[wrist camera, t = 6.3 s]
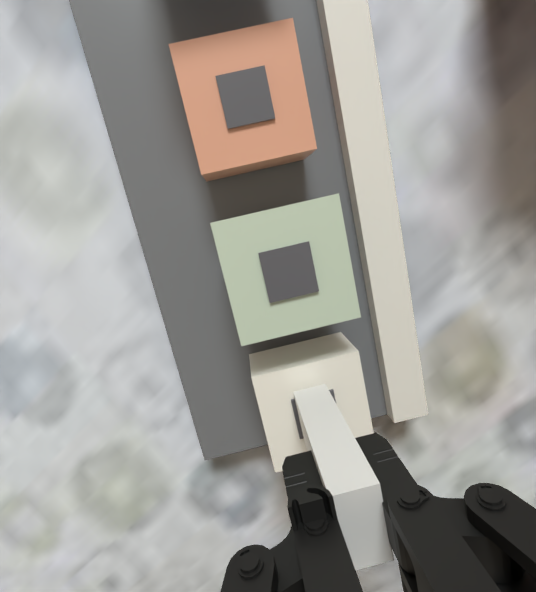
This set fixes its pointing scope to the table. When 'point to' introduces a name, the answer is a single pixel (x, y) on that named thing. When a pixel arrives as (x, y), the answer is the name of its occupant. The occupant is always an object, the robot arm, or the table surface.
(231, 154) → the key terracotta
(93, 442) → the table surface
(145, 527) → the table surface
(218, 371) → the keypad base
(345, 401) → the key ivory
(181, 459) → the table surface
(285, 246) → the key sage
